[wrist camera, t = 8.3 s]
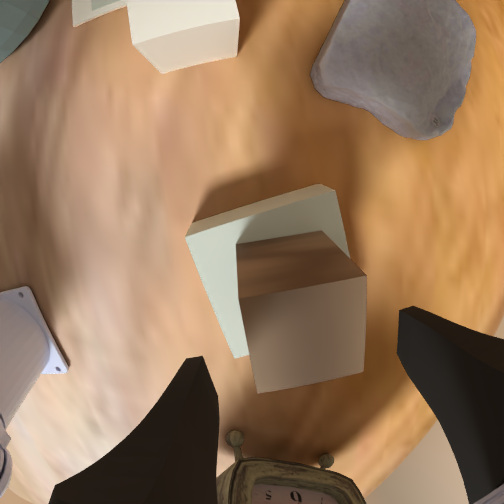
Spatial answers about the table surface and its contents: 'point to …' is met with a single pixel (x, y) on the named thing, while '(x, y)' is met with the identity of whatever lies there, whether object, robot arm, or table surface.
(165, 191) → the table surface
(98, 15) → the card
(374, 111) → the stone block
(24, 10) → the mug
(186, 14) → the off-white block
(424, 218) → the table surface
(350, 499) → the tabletop clock
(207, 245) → the base block
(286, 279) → the walnut block
